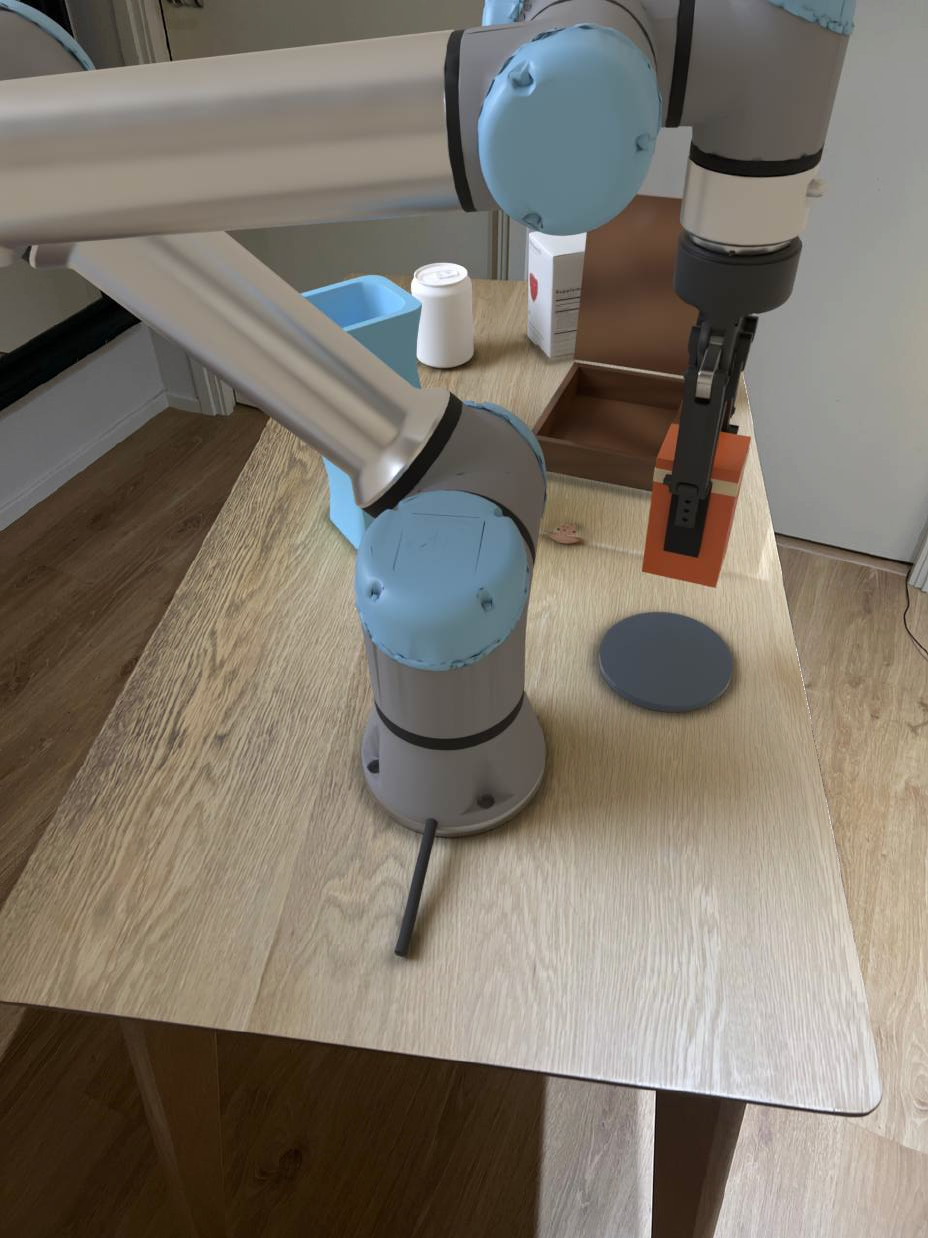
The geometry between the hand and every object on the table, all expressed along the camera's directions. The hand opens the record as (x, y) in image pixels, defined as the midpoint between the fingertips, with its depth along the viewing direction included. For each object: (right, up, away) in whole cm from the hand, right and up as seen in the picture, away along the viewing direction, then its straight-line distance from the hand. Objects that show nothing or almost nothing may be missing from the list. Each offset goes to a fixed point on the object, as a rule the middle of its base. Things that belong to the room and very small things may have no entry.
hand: (689, 529), depth 71 cm
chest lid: (+4, +32, +34) cm, 47 cm away
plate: (+1, -11, +11) cm, 15 cm away
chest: (0, +14, +37) cm, 40 cm away
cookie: (-7, +2, +25) cm, 26 cm away
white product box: (-3, +32, +56) cm, 65 cm away
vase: (-27, +4, +28) cm, 39 cm away
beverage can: (-21, +30, +55) cm, 66 cm away
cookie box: (0, -2, +2) cm, 3 cm away
